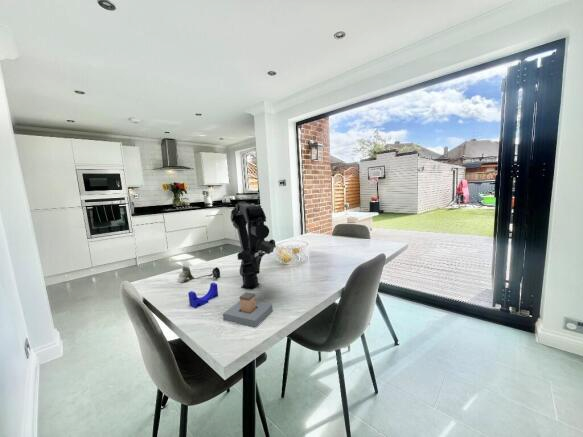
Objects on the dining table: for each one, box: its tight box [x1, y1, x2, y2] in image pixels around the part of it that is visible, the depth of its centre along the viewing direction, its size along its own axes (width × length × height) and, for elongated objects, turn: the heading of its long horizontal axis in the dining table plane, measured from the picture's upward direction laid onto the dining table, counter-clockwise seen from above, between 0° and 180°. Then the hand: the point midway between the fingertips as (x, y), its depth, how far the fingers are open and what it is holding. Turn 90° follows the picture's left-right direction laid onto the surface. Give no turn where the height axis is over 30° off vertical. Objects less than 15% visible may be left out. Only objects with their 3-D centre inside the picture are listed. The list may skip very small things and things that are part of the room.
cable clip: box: [187, 282, 219, 309], centre depth 103 cm, size 12×4×6 cm, turn 143°
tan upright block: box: [239, 291, 256, 314], centre depth 90 cm, size 4×4×8 cm
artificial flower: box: [176, 266, 221, 283], centre depth 129 cm, size 9×22×10 cm, turn 85°
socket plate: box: [222, 300, 274, 328], centre depth 90 cm, size 14×12×2 cm
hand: (257, 270), depth 104 cm, fingers closed
